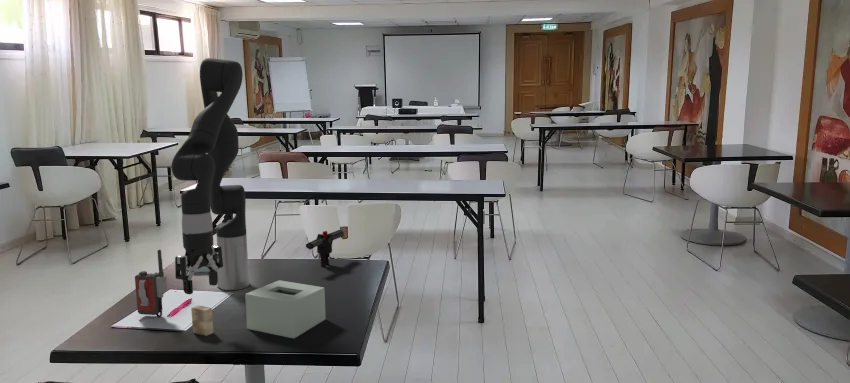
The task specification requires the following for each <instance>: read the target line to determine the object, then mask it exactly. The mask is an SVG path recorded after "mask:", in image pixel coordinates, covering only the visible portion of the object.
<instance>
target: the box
mask: <svg viewBox="0 0 850 383" xmlns="http://www.w3.org/2000/svg"><path fill="white" fill-rule="evenodd" d="M325 294H326V293H325V287H322V286H317V285H311V284H306V283H305V284H304V283H298V282H293V281H292V282H291V281H287V280H286V281H285V280H280V279H278V280H276V281H274V282H272V283H269V284H266V285H264V286H261V287H259V288H256V289H254V290H251V291H250V292H246V293H244V295H245V298H244V301H245V314H246V318H245V319H246V329H247V330H252V331H256V332H260V333H261V332H262V333H265V334H271V335H275V336H280V337H285V338H290V339H296V338H297V337H299V336H301V335H302V334H304V333H305V332H307V331H308V330H309V331H310V329H312V328H314V327H315V326H317V325H319V324H320V323H322V322H323V321H325V320H326V295H325Z"/></svg>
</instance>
